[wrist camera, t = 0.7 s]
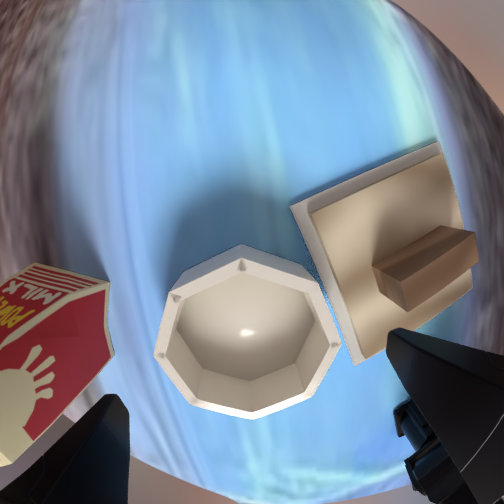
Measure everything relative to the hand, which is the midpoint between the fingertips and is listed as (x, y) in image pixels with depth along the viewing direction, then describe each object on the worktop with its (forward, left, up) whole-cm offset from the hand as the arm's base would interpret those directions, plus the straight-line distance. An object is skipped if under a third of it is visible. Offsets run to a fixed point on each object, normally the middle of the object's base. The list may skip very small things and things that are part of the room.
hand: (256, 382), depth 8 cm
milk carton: (+3, +17, -14) cm, 22 cm away
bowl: (-4, +2, -14) cm, 15 cm away
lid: (-5, -13, -14) cm, 20 cm away
